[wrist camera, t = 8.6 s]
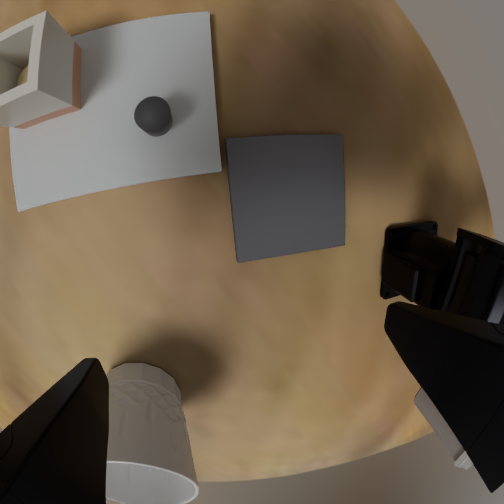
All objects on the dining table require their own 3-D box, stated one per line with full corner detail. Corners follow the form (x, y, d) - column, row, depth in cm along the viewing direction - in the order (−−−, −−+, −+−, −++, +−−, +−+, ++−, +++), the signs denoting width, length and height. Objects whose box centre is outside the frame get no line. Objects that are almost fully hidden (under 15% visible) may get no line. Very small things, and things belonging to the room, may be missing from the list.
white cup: (82, 364, 19) (54, 460, 10) (167, 346, 20) (170, 455, 11) (123, 422, 22) (118, 508, 13) (198, 409, 23) (214, 502, 14)
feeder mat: (337, 135, 18) (342, 134, 18) (341, 242, 21) (345, 245, 21) (224, 139, 17) (226, 138, 16) (236, 259, 20) (238, 262, 19)
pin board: (207, 18, 14) (215, -12, 10) (219, 171, 17) (229, 173, 14) (19, 64, 11) (-8, 50, 7) (24, 209, 15) (-6, 221, 11)
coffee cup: (459, 364, 34) (517, 415, 20) (426, 410, 35) (475, 464, 22) (433, 361, 31) (504, 425, 17) (395, 414, 32) (450, 481, 18)
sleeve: (81, 48, 12) (46, 10, 6) (80, 109, 13) (37, 89, 8) (25, 69, 11) (-22, 46, 5) (24, 129, 12) (-30, 122, 7)
